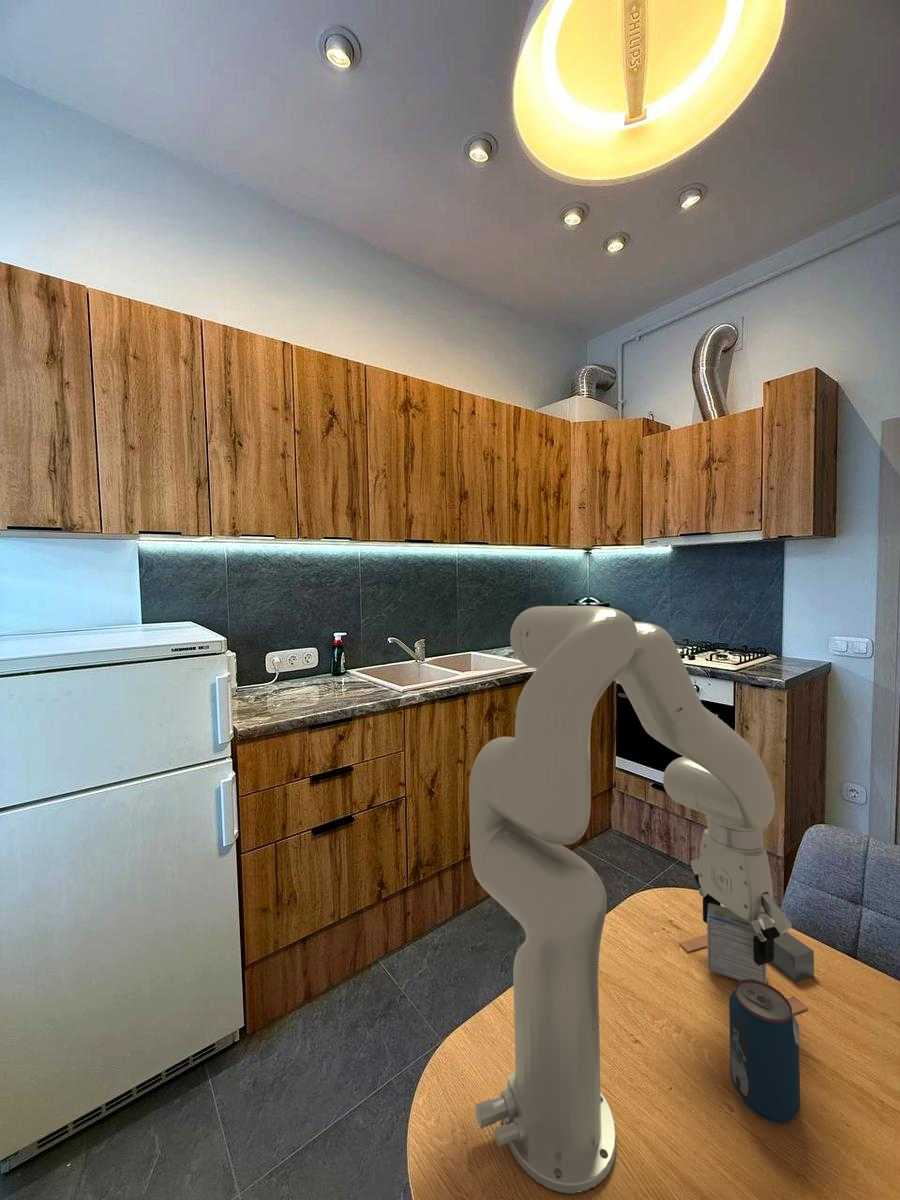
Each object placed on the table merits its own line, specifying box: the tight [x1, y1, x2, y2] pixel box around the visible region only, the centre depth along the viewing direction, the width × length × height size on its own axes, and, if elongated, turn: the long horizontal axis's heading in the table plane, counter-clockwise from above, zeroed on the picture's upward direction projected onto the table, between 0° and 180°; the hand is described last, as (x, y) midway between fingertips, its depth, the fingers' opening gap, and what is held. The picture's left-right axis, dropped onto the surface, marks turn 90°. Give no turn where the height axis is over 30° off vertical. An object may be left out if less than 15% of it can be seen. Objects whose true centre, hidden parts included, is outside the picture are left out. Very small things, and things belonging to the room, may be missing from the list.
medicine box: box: [706, 903, 768, 984], centre depth 73 cm, size 8×4×9 cm, turn 60°
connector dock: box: [678, 922, 815, 1016], centre depth 75 cm, size 15×16×4 cm
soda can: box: [728, 979, 801, 1125], centre depth 55 cm, size 7×7×12 cm
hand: (736, 940), depth 74 cm, fingers closed on medicine box, 8 cm apart
